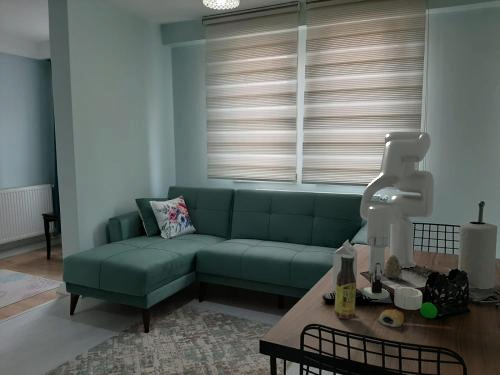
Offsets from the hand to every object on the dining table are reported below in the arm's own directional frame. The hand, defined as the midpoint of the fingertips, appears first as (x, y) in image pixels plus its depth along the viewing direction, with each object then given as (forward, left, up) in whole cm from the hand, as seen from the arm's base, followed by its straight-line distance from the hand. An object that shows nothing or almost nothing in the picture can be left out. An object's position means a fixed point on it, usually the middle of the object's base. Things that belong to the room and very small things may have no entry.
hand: (375, 287), depth 146 cm
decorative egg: (-19, +8, -3) cm, 21 cm away
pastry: (+19, +3, -4) cm, 20 cm away
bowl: (+6, +10, -3) cm, 12 cm away
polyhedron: (+14, +15, -3) cm, 21 cm away
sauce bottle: (+18, -11, -3) cm, 21 cm away
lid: (0, 0, -3) cm, 3 cm away
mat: (0, 0, -3) cm, 3 cm away
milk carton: (-3, -11, -3) cm, 12 cm away
